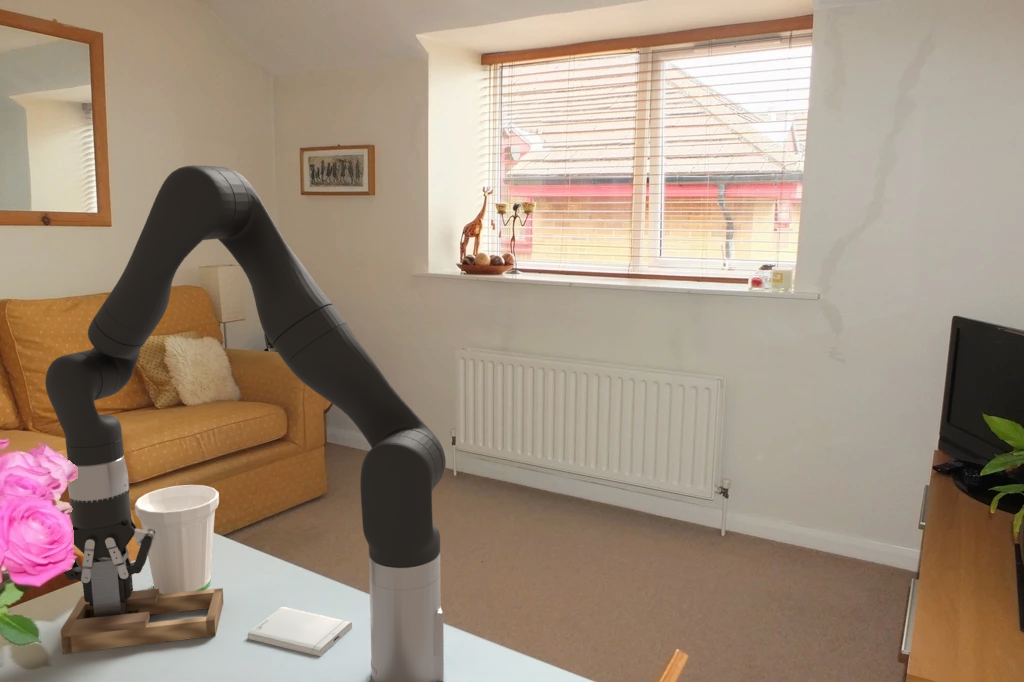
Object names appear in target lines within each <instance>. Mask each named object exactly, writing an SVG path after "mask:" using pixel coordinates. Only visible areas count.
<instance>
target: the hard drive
mask: <svg viewBox="0 0 1024 682" xmlns="http://www.w3.org/2000/svg"><path fill="white" fill-rule="evenodd" d="M352 628H353V622H352V621H347V620H343V619H338V618H334V617H331V616H326V615H323V614H322V615H321V614H319V613H313V612H308V611H305V610H304V611H303V610H300V609H295V608H291V607H286V606H281V607H279V608H277V609H276V610H275V611H274V612H272V613H271V614H270V615H268V616H267V617H265V618H264V619H263V620H262V621H260V623H258V624H257V625H255V626H254V627H253V628H251V629H250V630H249V631H248V632H247V639H248V640H253V641H256V642H260V643H265V644H267V645H268V644H269V645H273V646H276V647H281V648H285V649H289V650H293V651H296V652H297V651H298V652H300V653H304V654H309V655H314V656H318V657H321V656H322V655H323V654H325V653H326V652H327V651H328V650H329V649H330V648H331V647H333V645H335V643H337V642H338V641H339V640H340V639H341V638H342V637H343V636H344V635H346V634H347V632H349V631H350V630H352Z"/></svg>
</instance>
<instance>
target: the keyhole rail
mask: <svg viewBox="0 0 1024 682" xmlns="http://www.w3.org/2000/svg"><path fill="white" fill-rule="evenodd" d="M224 604H225V603H224V588H222V587H220V588H210V589H205V590H199V591H190V592H180V593H170V594H159V589H155V588H151V589H141V590H133V592H132V594H131V596H130V598H128V599H127V608H128V611H132V610H139V613H132V614H123V615H114V616H104V617H95V618H94V606H90V605H89V602H86V601H85V600H84V595H82V596H81V597H80V598H79V600H78V602H77V603H76V605H75V606H74V608H73V609H72V611H71V613H70V614H69V616H68V618H67V619H66V621H65V622H64V623H63V625H62V627H61V628H60V640H61V652H62V654H70V653H80V652H88V651H96V650H103V649H105V650H106V649H113V648H114V649H115V648H122V647H129V646H130V647H131V646H132V647H133V646H138V645H147V644H155V643H164V642H173V641H175V642H176V641H182V640H191V639H198V638H200V639H201V638H207V637H208V638H209V637H215V636H216V635H217V631H218V627H219V624H220V623H219V622H220V619H221V614H222V611H223V606H224ZM203 609H204V610H205V609H208V610H207V611H208V612H207V615H206V616H201V617H191V618H181V619H175V620H174V619H173V620H165V621H156V622H149V621H150V617H151V616H150V615H157V614H166V613H167V614H168V613H175V612H176V611H177V612H186V611H194V610H203Z"/></svg>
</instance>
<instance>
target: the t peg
mask: <svg viewBox="0 0 1024 682" xmlns="http://www.w3.org/2000/svg"><path fill="white" fill-rule="evenodd" d="M90 572H91V583H92V595H93V606H94V618H95V617H104V616H114V615H123V614H132V613H139V610H132V611H128V608H127V601H126V602H122V603H121V599H120V589H119V579H120V576H119V573H118V569H117V566H114V563H113V561H112V558H105V557H103V558H100V559H95V560H94V561H93V565H92V569H90Z"/></svg>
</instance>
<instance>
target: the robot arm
mask: <svg viewBox="0 0 1024 682" xmlns="http://www.w3.org/2000/svg"><path fill="white" fill-rule="evenodd" d="M165 178H166V179H164V181H163V183H162V184H161V186H160V189H159V191H158V192H157V195H156V197H155V199H154V201H153V204H152V206H151V209H150V211H149V214H148V216H147V218H146V220H145V224H144V226H143V228H142V230H141V233H140V235H139V237H138V239H137V241H136V244H135V246H134V249H133V251H132V254H131V255H130V257H129V260H128V261H127V264H126V266H125V268H124V270H123V272H122V274H121V276H120V277H119V279H118V281H117V283H116V284H115V286H114V287H113V289H112V290H111V292H110V293H109V295H108V296H107V297H106V299H105V300H104V302H103V304H102V305H101V306H100V308H99V309H98V310H97V313H96V314H95V315H94V317H93V319H91V321H90V323H89V326H88V329H87V338H88V340H89V342H90V343H91V345H92V346H93V347H92V348H91V349H88V350H82V351H78V352H72V353H69V354H63V355H61V356H59V357H56V358H55V359H54V360H52V362H51V363H50V364H49V367H48V368H47V371H46V374H45V382H44V383H45V390H46V394H47V397H48V399H49V401H50V403H51V406H52V408H53V410H54V412H55V415H56V417H57V419H58V422H59V425H60V427H61V429H62V431H63V434H64V437H65V446H66V447H65V448H66V449H65V450H66V456H67V457H66V458H67V461H68V460H70V461H71V462H72V463H73V464H75V465H76V466H77V467H78V478H77V479H76V480H74V481H72V482H70V483H69V484H68V483H67V488H68V501H69V506H70V505H71V506H72V508H73V510H72V512H71V511H70V518H71V526H72V525H73V530H74V544H73V545H74V546H75V547H76V548H77V549H78V550H79V551H80V552H81V553H82V554H83V560H82V566H81V564H79V562H78V560H77V559H76V560H75V563H74V565H73V567H72V569H71V570H69V571H67V572H63V573H64V575H65V577H66V579H67V580H69V581H74V580H76V581H80V582H81V583H82V589H83V596H84V600H85V601H86V602H89V605H90V606H93V595H92V583H91V572H90V569H92V565H93V561H94V560H95V559H100V558H103V557H105V558H112V561H113V563H114V566H117V569H118V573H119V576H120V579H119V589H120V599H121V603H122V602H126V601H127V599H128V598H130V596H131V594H132V592H133V591H134V586H133V585H134V584H133V575H134V574H139V573H141V572H142V570H143V567H144V566H145V565H146V561H147V558H148V553H149V550H150V547H151V545H152V542H153V539H154V536H155V530H153V529H149V530H148V531H145V530H143V529H142V528H137V526H136V524H135V523H134V522H133V519H132V507H131V497H130V496H131V495H130V479H129V473H128V468H127V467H128V466H127V463H126V459H125V453H124V451H125V450H124V443H123V442H124V441H123V431H122V425H121V422H120V420H119V419H118V417H116V416H115V415H111V414H103V413H102V414H101V413H99V411H98V409H97V407H96V404H95V401H97V400H98V401H99V400H101V399H105V398H107V397H111V396H114V395H116V394H117V393H119V392H120V391H121V390H123V389H124V388H125V386H126V385H127V384H129V381H130V380H131V378H132V377H133V374H134V371H135V369H136V366H137V363H138V360H139V356H140V353H141V348H142V347H143V346H144V345H145V344H146V343H147V341H148V339H149V338H150V337H151V335H152V334H153V332H154V330H155V329H156V328H157V326H158V325H159V323H160V322H161V320H162V318H163V317H164V315H165V313H166V311H167V307H168V305H169V301H170V297H171V296H170V295H171V289H172V284H173V280H174V277H175V275H176V273H177V271H178V269H179V267H180V266H181V264H182V263H183V261H184V260H185V258H187V256H189V255H190V254H191V252H192V251H193V250H194V249H195V248H196V247H198V246H199V244H200V243H202V242H203V241H208V240H218V241H219V242H220V243H221V244H222V245H223V246H224V247H225V249H227V250H228V252H229V253H230V254H231V256H232V257H233V258H234V260H235V261H236V262H237V263H238V265H239V266H240V268H241V269H242V271H243V272H244V274H245V275H246V277H247V279H248V281H249V283H250V286H251V290H252V294H253V298H254V301H255V307H256V311H257V315H258V318H259V322H260V325H261V328H262V329H263V332H264V334H265V336H266V338H267V339H268V341H269V343H270V344H271V346H272V347H273V348H274V349H275V351H276V352H277V354H278V355H279V357H280V358H281V359H282V360H283V362H284V363H285V364H286V366H287V367H288V368H289V369H290V370H291V372H292V373H293V374H294V375H295V376H296V377H297V378H298V379H299V380H300V381H301V382H302V383H303V384H304V385H306V386H307V387H308V388H309V389H311V390H313V391H314V392H315V393H316V394H318V395H319V396H321V397H322V398H323V399H325V400H327V401H328V402H329V403H331V404H333V405H334V406H335V407H337V408H338V409H339V410H341V412H343V413H344V414H346V415H347V417H348V418H349V419H350V420H351V421H352V422H353V424H355V426H356V427H357V428H358V430H359V431H360V432H361V434H362V436H363V437H364V438H365V439H366V441H367V443H368V444H369V445H370V447H371V449H369V451H368V452H367V454H366V455H365V457H364V458H363V462H362V465H361V469H360V481H359V482H360V504H361V507H360V508H361V521H362V523H361V524H362V531H363V535H364V537H365V540H366V542H367V544H368V567H369V568H368V569H369V607H370V608H369V612H370V619H369V620H370V652H371V653H370V668H371V679H372V682H443V681H444V677H445V676H444V675H445V674H444V673H445V672H444V670H445V668H444V667H445V666H444V665H445V663H444V661H445V659H444V655H445V654H444V653H445V652H444V651H445V649H444V647H445V645H444V639H445V638H444V613H443V608H442V606H441V605H442V604H441V534H440V532H439V531H440V530H439V528H437V527H436V526H435V525H434V524H433V523H434V522H433V490H434V489H435V487H436V486H437V485H438V484H439V482H440V481H441V479H442V478H443V477H444V474H445V470H446V465H447V463H446V461H447V460H446V455H445V451H444V448H443V445H442V444H441V441H439V439H438V437H437V436H436V435H435V434H434V432H433V431H432V430H431V429H430V428H429V426H427V424H426V423H425V422H424V421H423V420H422V419H421V418H420V417H419V415H417V414H416V413H415V411H414V410H413V409H412V408H411V407H410V406H409V405H408V404H407V403H406V402H405V400H403V398H402V397H401V396H400V395H399V394H398V392H397V391H396V390H395V389H394V387H392V385H391V384H390V382H389V380H387V378H386V377H385V376H384V374H383V373H382V371H381V370H380V368H379V367H378V365H377V363H376V362H375V361H374V360H373V359H372V357H371V356H370V355H369V353H368V352H367V350H366V349H365V348H364V346H363V344H362V343H361V342H360V341H359V339H358V338H357V337H356V335H355V334H354V332H353V331H352V329H351V328H350V326H349V325H348V323H347V322H346V320H345V319H344V318H343V317H342V315H341V314H340V313H339V311H338V309H336V307H335V306H334V304H333V303H332V302H331V301H330V299H329V298H328V296H327V295H326V294H325V292H323V290H322V289H321V287H320V286H319V285H318V284H317V282H316V281H315V280H314V278H313V277H312V275H311V274H310V273H309V271H308V269H306V267H305V265H303V263H302V262H301V260H300V259H299V258H298V257H297V255H296V253H294V252H293V250H292V248H291V247H290V246H289V245H288V243H287V242H286V240H285V238H284V236H283V235H282V233H281V231H280V230H279V228H278V226H277V225H276V223H275V221H274V220H273V218H272V216H271V215H270V213H269V212H268V209H267V208H266V206H265V205H264V203H263V201H262V199H261V198H260V196H259V194H258V192H257V191H256V190H255V188H254V187H253V186H252V184H251V182H249V181H248V179H247V178H245V177H244V175H243V174H241V173H239V172H237V171H236V170H234V169H231V168H228V167H225V166H216V165H215V166H214V165H213V166H212V165H211V166H210V165H186V166H181V167H179V168H177V169H175V170H173V171H172V172H171V173H170V174H169V175H168V176H167V177H165ZM132 538H135V543H136V545H137V546H139V550H138V552H137V556H136V558H135V561H132V562H131V559H130V556H129V555H130V553H129V552H130V551H129V550H128V547H127V546H128V545H129V543H130V542H131V540H132Z"/></svg>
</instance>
